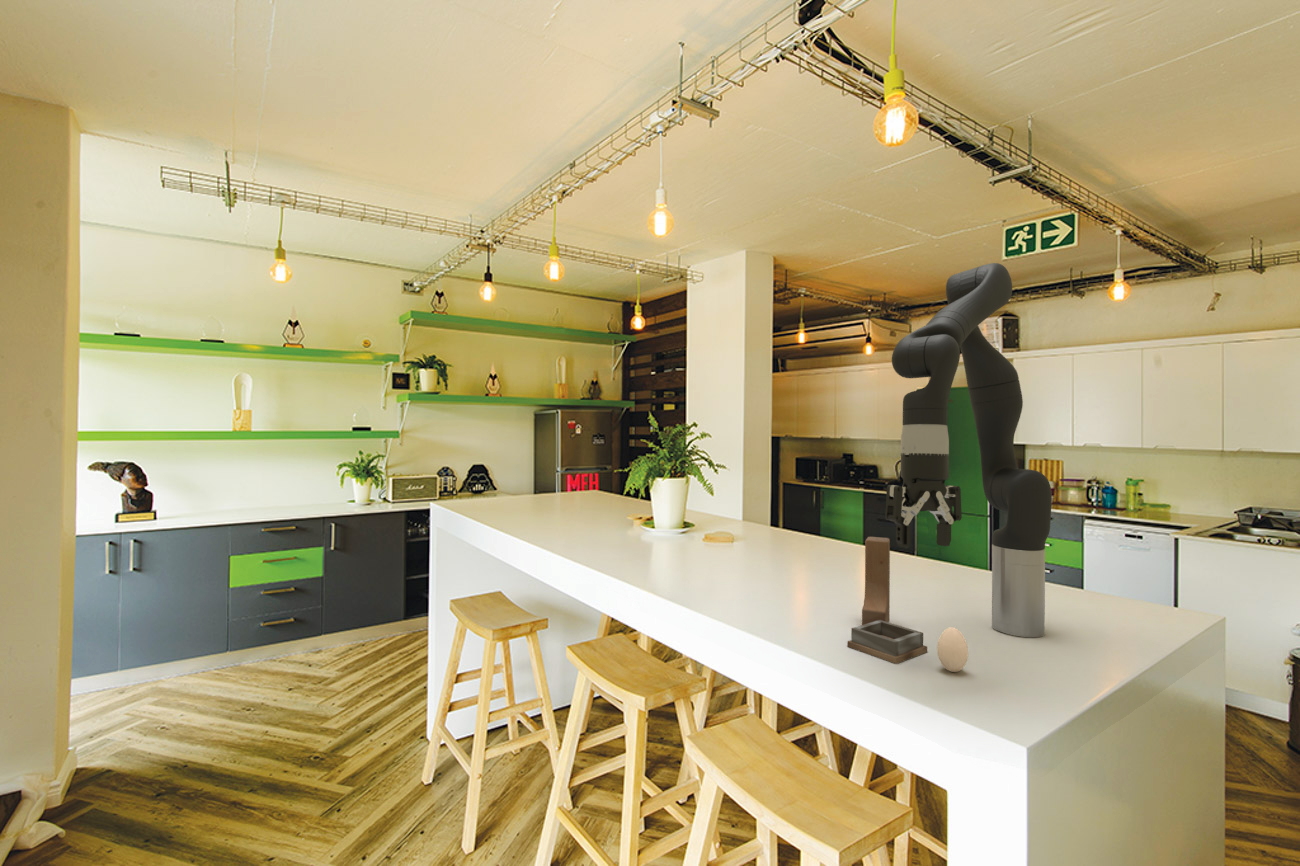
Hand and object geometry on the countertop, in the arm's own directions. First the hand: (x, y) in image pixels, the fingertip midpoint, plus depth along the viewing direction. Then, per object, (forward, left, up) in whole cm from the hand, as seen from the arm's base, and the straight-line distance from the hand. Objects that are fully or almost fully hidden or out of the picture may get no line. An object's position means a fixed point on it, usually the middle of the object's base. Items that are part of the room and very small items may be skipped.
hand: (923, 546), depth 100 cm
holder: (-3, -9, -21) cm, 23 cm away
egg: (-3, +3, -21) cm, 22 cm away
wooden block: (-13, -18, -21) cm, 31 cm away
